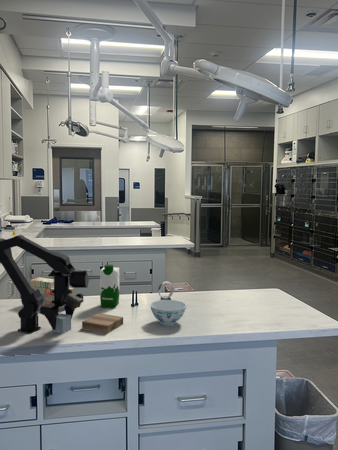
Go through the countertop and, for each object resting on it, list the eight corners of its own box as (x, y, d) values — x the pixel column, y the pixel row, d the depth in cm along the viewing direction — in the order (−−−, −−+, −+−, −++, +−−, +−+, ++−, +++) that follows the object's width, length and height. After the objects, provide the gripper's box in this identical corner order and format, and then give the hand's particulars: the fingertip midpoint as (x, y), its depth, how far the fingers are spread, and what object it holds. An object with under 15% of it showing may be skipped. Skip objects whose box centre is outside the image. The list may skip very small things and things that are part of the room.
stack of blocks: (74, 307, 191) (74, 281, 190) (65, 310, 185) (65, 284, 184) (39, 301, 200) (39, 276, 199) (30, 304, 194) (30, 279, 193)
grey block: (63, 333, 156) (62, 318, 156) (52, 331, 158) (52, 316, 158) (71, 329, 161) (70, 315, 160) (61, 327, 163) (60, 313, 162)
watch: (156, 302, 199) (156, 280, 198) (172, 302, 201) (172, 280, 200) (158, 306, 194) (158, 283, 193) (174, 305, 195) (174, 283, 194)
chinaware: (145, 318, 175) (145, 301, 174) (177, 315, 180) (178, 298, 179) (157, 330, 161) (157, 311, 160) (191, 326, 166) (191, 308, 166)
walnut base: (107, 333, 157) (107, 326, 157) (82, 328, 162) (82, 321, 161) (123, 324, 168) (123, 317, 168) (98, 319, 173) (98, 313, 172)
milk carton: (98, 307, 190) (98, 266, 188) (103, 302, 199) (103, 262, 197) (116, 308, 189) (116, 266, 187) (121, 303, 198) (121, 263, 196)
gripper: (62, 295, 146) (63, 337, 148) (92, 284, 163) (92, 321, 165) (38, 291, 151) (39, 332, 152) (69, 281, 168) (70, 317, 169)
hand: (61, 325), depth 159 cm, fingers open, 9 cm apart
